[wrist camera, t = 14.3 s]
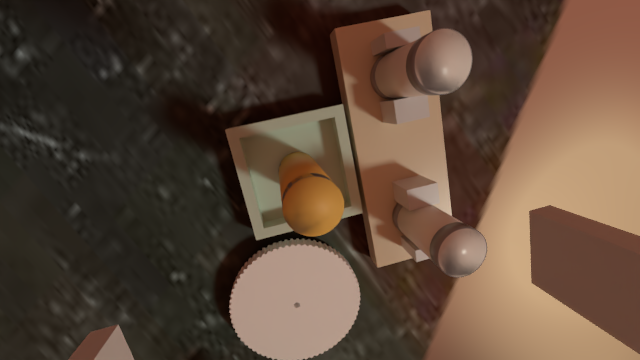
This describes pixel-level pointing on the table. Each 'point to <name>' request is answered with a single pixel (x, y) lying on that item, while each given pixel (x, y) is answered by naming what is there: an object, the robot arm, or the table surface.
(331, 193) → the cylinder
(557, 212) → the robot arm
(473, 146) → the table surface
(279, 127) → the tray
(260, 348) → the plastic lid
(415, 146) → the block
